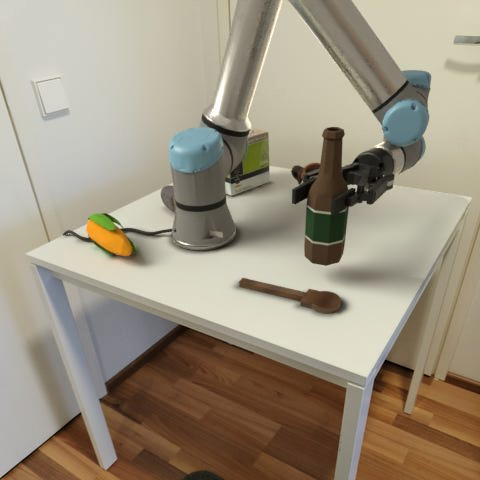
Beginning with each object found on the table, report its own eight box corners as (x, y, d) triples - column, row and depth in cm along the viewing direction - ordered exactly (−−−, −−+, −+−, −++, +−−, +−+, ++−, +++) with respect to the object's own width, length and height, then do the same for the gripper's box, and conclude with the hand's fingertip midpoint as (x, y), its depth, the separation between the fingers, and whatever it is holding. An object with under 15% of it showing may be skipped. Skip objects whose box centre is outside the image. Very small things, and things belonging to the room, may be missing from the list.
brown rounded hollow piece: (332, 185, 133) (337, 165, 125) (319, 209, 130) (324, 190, 122) (295, 170, 135) (298, 150, 127) (281, 193, 132) (283, 174, 124)
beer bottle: (295, 257, 89) (300, 130, 75) (319, 243, 93) (328, 120, 79) (327, 270, 85) (339, 138, 70) (351, 255, 89) (367, 127, 74)
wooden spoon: (234, 291, 89) (234, 286, 88) (247, 277, 92) (247, 272, 92) (334, 316, 81) (335, 310, 80) (344, 300, 85) (344, 294, 84)
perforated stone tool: (156, 206, 125) (152, 181, 120) (172, 201, 127) (169, 176, 123) (185, 223, 115) (182, 196, 111) (202, 217, 117) (199, 191, 113)
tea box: (248, 175, 141) (247, 125, 132) (270, 183, 135) (270, 131, 126) (210, 188, 134) (205, 136, 125) (231, 197, 128) (228, 143, 119)
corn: (103, 201, 108) (142, 228, 95) (112, 230, 113) (150, 259, 100) (74, 212, 105) (110, 241, 92) (84, 241, 110) (120, 272, 97)
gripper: (422, 194, 88) (362, 237, 75) (332, 174, 99) (267, 208, 86) (430, 155, 84) (368, 193, 70) (335, 139, 95) (267, 169, 82)
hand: (312, 202), depth 78 cm, fingers closed on beer bottle, 7 cm apart
